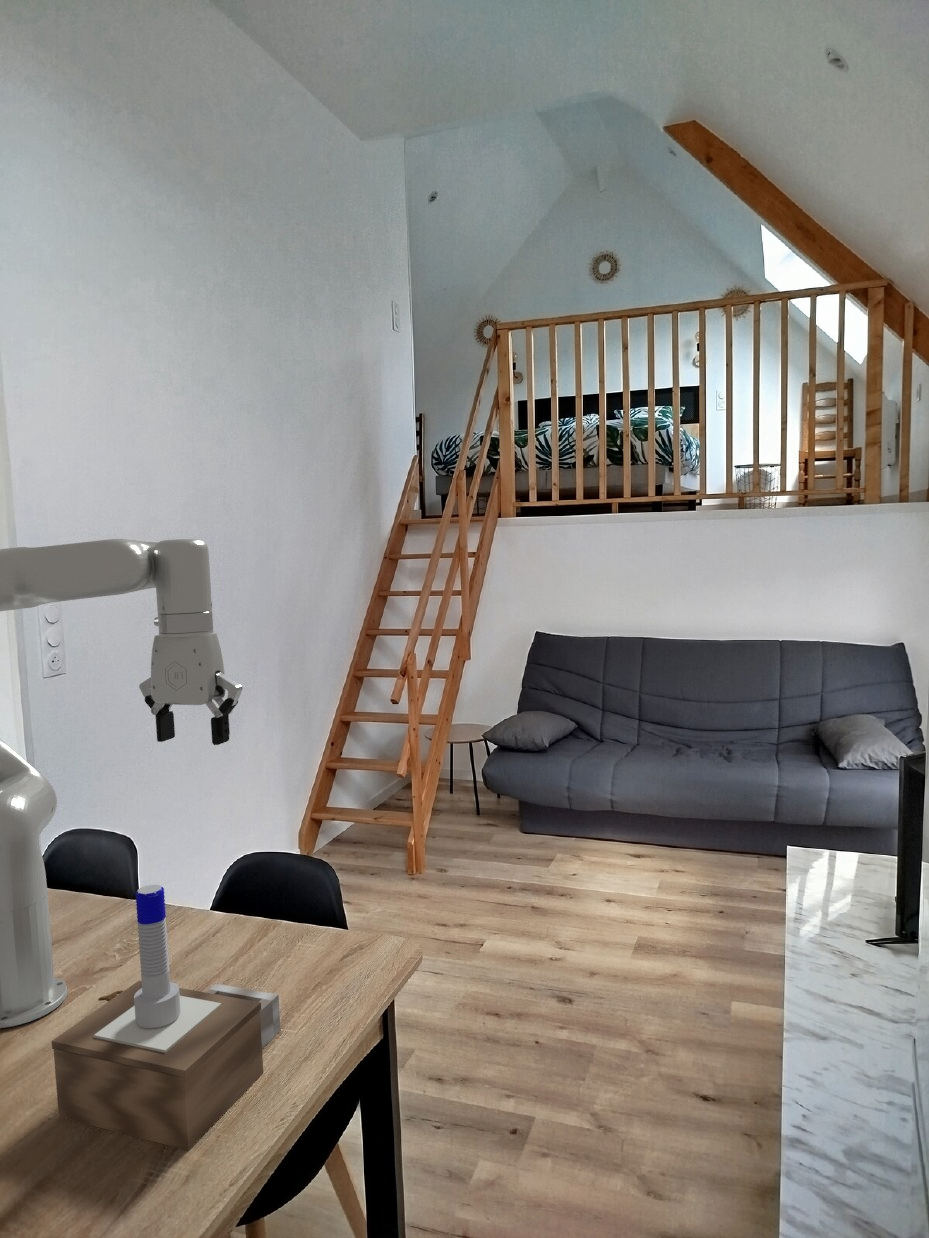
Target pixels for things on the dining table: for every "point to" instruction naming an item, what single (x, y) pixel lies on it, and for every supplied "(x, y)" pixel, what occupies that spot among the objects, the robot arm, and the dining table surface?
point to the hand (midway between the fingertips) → (193, 741)
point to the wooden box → (165, 1068)
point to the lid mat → (161, 1037)
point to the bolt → (154, 962)
